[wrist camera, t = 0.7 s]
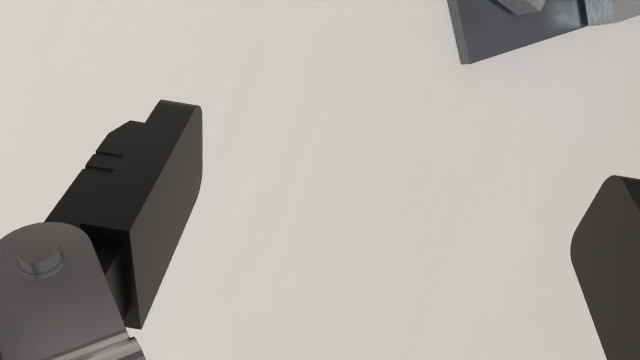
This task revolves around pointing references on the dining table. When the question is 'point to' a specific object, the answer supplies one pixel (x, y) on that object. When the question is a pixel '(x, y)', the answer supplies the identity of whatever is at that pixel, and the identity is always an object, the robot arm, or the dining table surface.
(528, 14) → the sprocket base
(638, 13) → the sprocket
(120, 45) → the dining table surface
